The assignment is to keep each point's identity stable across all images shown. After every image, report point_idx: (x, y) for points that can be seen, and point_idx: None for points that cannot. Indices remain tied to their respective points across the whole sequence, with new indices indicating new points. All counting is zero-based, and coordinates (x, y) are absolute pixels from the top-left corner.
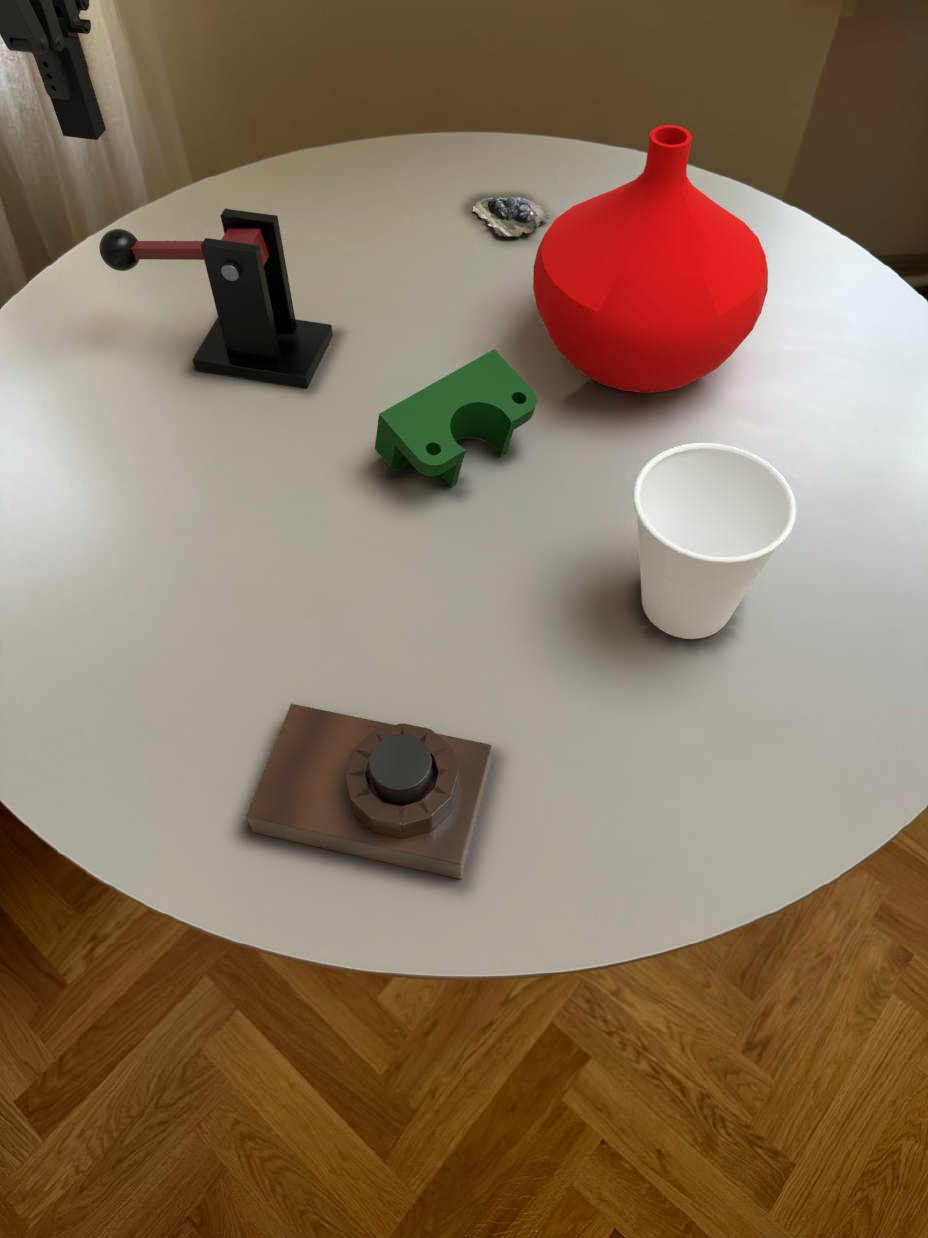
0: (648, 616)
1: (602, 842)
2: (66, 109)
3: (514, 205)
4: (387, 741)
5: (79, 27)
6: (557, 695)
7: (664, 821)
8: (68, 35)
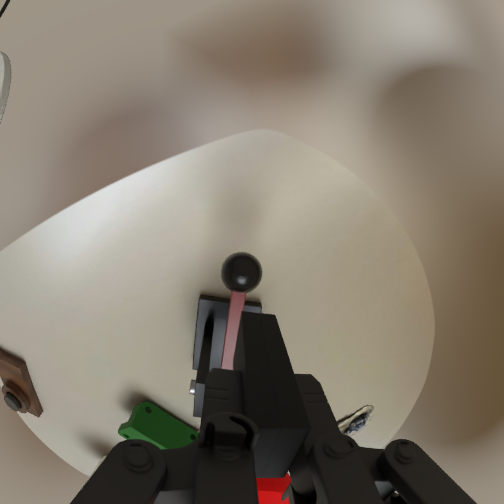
0: (104, 456)
1: (40, 426)
2: (239, 356)
3: (355, 428)
4: (12, 402)
5: (285, 497)
6: (69, 430)
7: (52, 438)
8: (289, 468)
